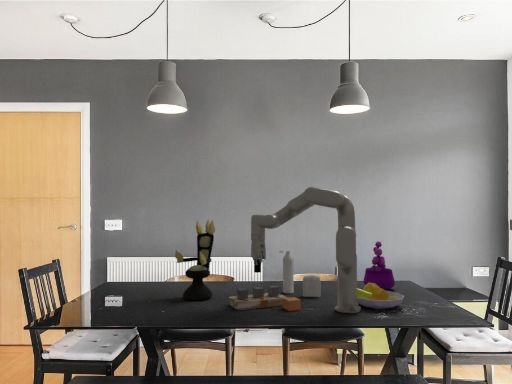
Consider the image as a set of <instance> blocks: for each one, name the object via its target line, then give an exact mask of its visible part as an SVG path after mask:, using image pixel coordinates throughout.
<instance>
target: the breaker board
mask: <svg viewBox="0 0 512 384" xmlns="http://www.w3.org/2000/svg"><path fill="white" fill-rule="evenodd" d="M283 298H289V297H288V296H285V295H283V294H282V293H279V296H276V297H270V296H268V292H264V297H260V298H257V299H256V298H254V297H253V294H248V299H244V300H239V299H237V295H234V296H228V305H229V306H231V307H232V308H234V309H235V310H237V311H247V310H256V308H257V309H263V308H264V309H265V307H266V308H272V307H280V306H281V307H283Z"/></svg>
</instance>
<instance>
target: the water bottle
mask: <svg viewBox="0 0 512 384" xmlns="http://www.w3.org/2000/svg"><path fill="white" fill-rule="evenodd" d="M280 253H281V254H282V253H284V250H279V254H280ZM294 273H295V272H294V258H293V256H292V254H291V251H290V250H287V251H286V252H285V254H284V256H283V257H282V293H283V294H293V293H294V289H295V288H294V287H295V285H294V281H295V280H294V277H295V275H294Z"/></svg>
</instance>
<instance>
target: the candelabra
mask: <svg viewBox="0 0 512 384" xmlns="http://www.w3.org/2000/svg"><path fill="white" fill-rule="evenodd" d="M195 229H196V234H197V236H196V248H197V251H196V255H197V256H193V257H185V258H184V257H183V254H182V253H181V252H180V251H178V250H177V249H175V257H174V258H175V260H176V263H177V264H179V263H188V262H195V261H196V265H192V266H189V268H188V269H186V271H185V276H186V277H187V278H188V279H192V281H191V282H192V283H191V284H190V285H189V286H188V287H187V288H185V290H184V292H182V293H183V294H182V298H183V299H184V300H186V301H191V302H192V301H193V302H195V301H196V302H197V301H199V302H200V301H205V300H210V299H211V298H212V297H213V292H212V290H211V289H210V288H209V287H208V286H207V285H206V284H205V283H204V280H203V279H205V278H208V277H209V276H210V274H211V271H210V264H211V262H212V258H211V255H212V252H213V250H212V249H213V246H214V240H215V239H214V238H215V236H214V234H215V232H216V227H215V223H214V220H213V219H212V220H211V222H210V219H209V218H208V219H207V221H206V223H205V232H203V227H202V226H201V224H200V222H199V220H198V219H197V220H196V224H195Z"/></svg>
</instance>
